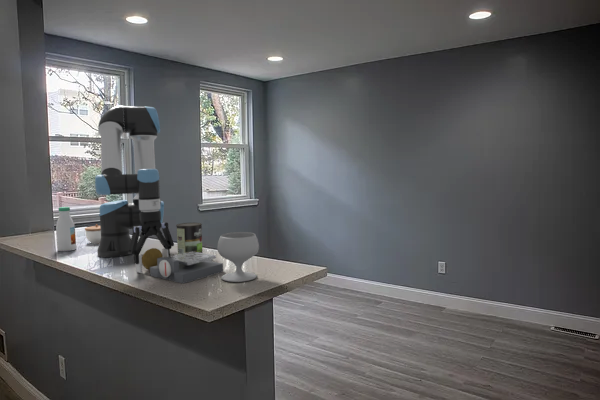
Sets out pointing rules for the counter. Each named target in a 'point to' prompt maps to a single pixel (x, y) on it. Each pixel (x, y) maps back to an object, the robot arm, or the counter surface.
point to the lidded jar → (93, 234)
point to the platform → (191, 257)
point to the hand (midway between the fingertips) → (153, 268)
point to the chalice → (238, 253)
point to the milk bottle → (65, 231)
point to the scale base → (184, 270)
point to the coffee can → (189, 237)
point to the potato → (151, 258)
